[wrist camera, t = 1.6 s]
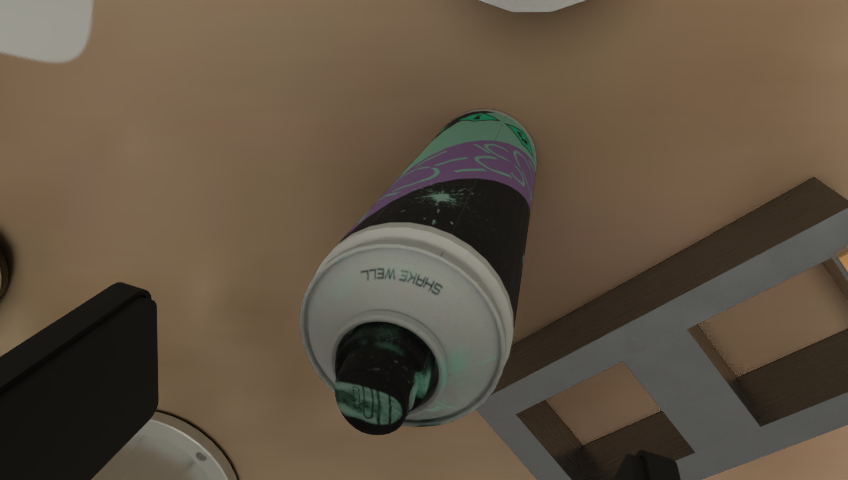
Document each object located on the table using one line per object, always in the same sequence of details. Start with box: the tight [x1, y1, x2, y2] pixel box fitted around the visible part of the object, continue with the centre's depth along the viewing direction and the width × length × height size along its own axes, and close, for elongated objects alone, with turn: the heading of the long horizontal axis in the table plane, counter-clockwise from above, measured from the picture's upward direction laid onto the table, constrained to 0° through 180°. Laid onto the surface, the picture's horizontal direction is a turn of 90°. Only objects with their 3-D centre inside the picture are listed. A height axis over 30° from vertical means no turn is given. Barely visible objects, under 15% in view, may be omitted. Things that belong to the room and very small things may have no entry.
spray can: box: [300, 109, 537, 435], centre depth 21 cm, size 6×6×20 cm
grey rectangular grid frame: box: [476, 177, 848, 480], centre depth 29 cm, size 20×10×4 cm, turn 130°
